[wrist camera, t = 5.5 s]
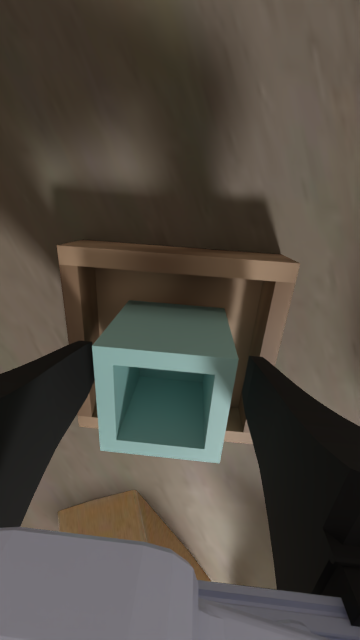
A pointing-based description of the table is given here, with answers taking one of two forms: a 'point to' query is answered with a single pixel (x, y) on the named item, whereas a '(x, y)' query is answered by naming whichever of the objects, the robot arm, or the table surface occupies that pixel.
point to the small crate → (165, 381)
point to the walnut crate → (179, 299)
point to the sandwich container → (124, 523)
